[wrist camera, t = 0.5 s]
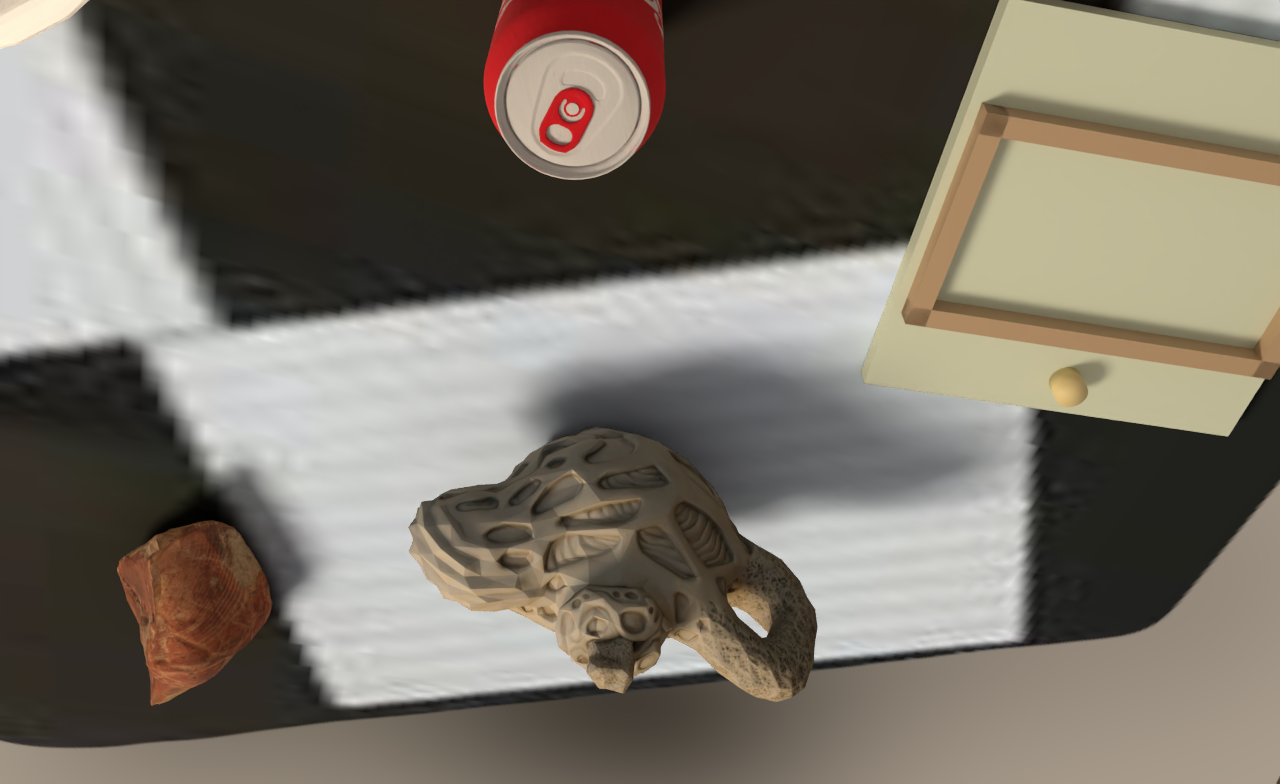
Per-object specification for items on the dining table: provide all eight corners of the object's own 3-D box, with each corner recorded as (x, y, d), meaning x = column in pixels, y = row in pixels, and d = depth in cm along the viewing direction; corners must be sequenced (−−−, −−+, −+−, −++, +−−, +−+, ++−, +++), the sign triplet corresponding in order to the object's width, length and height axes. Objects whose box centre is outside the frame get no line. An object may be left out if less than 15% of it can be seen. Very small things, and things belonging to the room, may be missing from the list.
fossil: (209, 712, 72) (115, 774, 62) (109, 623, 72) (-1, 670, 62) (332, 557, 70) (255, 596, 60) (228, 467, 71) (135, 491, 61)
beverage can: (687, -46, 47) (701, 72, 38) (619, 83, 51) (615, 222, 41) (547, -121, 46) (524, -17, 36) (485, 18, 49) (449, 147, 39)
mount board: (1003, -11, 48) (1017, 8, 47) (1442, 72, 51) (1471, 93, 49) (861, 371, 60) (867, 397, 59) (1220, 424, 63) (1237, 451, 61)
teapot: (409, 502, 66) (360, 726, 54) (452, 342, 59) (407, 558, 47) (763, 580, 70) (790, 805, 58) (841, 439, 63) (890, 660, 51)
